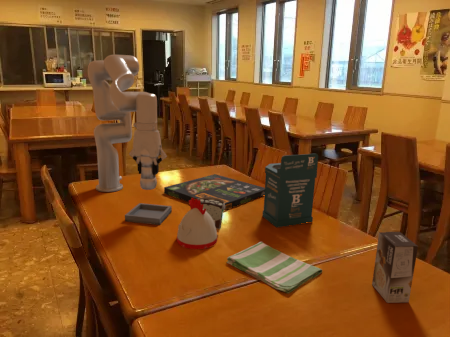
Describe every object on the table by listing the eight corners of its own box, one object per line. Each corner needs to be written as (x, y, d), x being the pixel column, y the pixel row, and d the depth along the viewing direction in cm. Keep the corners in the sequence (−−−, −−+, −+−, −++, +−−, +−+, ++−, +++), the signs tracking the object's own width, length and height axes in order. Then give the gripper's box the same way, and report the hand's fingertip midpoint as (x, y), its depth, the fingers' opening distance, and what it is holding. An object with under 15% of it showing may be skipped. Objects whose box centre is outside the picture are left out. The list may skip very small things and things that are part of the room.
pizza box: (267, 195, 181) (267, 188, 180) (218, 214, 156) (218, 206, 155) (214, 180, 203) (214, 174, 202) (164, 194, 178) (164, 187, 177)
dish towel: (287, 297, 99) (287, 288, 99) (224, 264, 115) (224, 256, 114) (322, 273, 112) (323, 265, 111) (261, 247, 127) (261, 239, 127)
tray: (139, 208, 157) (139, 203, 157) (171, 211, 155) (171, 206, 154) (125, 221, 144) (124, 215, 143) (159, 224, 142) (159, 218, 141)
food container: (230, 224, 144) (230, 199, 142) (223, 230, 139) (224, 204, 136) (201, 218, 149) (202, 194, 147) (194, 223, 144) (194, 199, 141)
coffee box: (410, 302, 98) (420, 246, 94) (386, 303, 97) (395, 246, 93) (392, 283, 107) (400, 231, 102) (370, 283, 106) (377, 231, 102)
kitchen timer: (199, 228, 140) (199, 190, 136) (225, 241, 130) (226, 200, 126) (168, 239, 130) (168, 198, 126) (194, 253, 121) (195, 209, 117)
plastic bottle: (158, 187, 149) (158, 137, 144) (154, 192, 143) (153, 140, 138) (143, 186, 150) (141, 136, 145) (137, 191, 143) (136, 139, 138)
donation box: (276, 227, 143) (281, 155, 136) (257, 212, 157) (261, 147, 150) (312, 222, 148) (318, 153, 141) (291, 208, 163) (296, 145, 156)
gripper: (121, 127, 138) (123, 174, 143) (165, 129, 135) (166, 177, 140) (130, 124, 145) (131, 169, 150) (172, 126, 142) (172, 172, 147)
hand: (148, 173), depth 145 cm, fingers closed on plastic bottle, 5 cm apart
